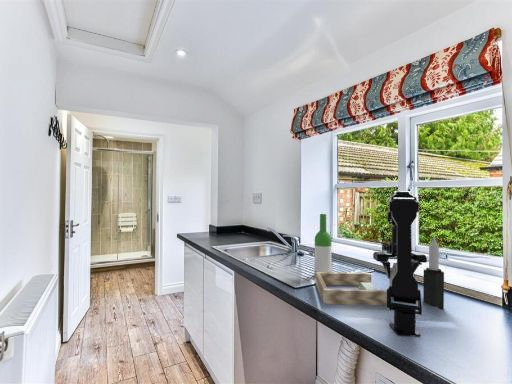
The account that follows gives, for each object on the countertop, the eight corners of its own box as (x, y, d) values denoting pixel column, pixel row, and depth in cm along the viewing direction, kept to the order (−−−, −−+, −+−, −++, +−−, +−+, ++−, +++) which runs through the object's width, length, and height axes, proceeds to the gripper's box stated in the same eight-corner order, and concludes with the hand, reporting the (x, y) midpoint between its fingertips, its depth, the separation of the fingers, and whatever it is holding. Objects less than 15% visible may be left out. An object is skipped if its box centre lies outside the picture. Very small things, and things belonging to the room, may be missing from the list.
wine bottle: (320, 281, 132) (320, 215, 132) (311, 276, 140) (311, 213, 139) (334, 279, 135) (335, 214, 135) (324, 274, 142) (325, 213, 142)
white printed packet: (389, 287, 116) (389, 262, 116) (399, 284, 120) (400, 260, 120) (397, 290, 113) (398, 264, 113) (408, 287, 117) (408, 262, 116)
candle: (433, 310, 101) (434, 238, 101) (421, 304, 106) (422, 235, 106) (445, 308, 102) (446, 237, 102) (433, 303, 107) (433, 235, 107)
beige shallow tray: (370, 287, 124) (370, 273, 124) (390, 308, 102) (390, 291, 102) (315, 285, 126) (315, 272, 126) (323, 306, 104) (323, 290, 103)
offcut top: (370, 287, 120) (370, 282, 120) (382, 300, 106) (382, 295, 106) (360, 287, 120) (360, 282, 120) (371, 300, 107) (371, 294, 107)
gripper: (414, 236, 124) (413, 273, 124) (369, 235, 125) (368, 272, 125) (427, 241, 113) (427, 281, 113) (378, 240, 114) (377, 280, 114)
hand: (399, 278), depth 116 cm, fingers closed on white printed packet, 8 cm apart
